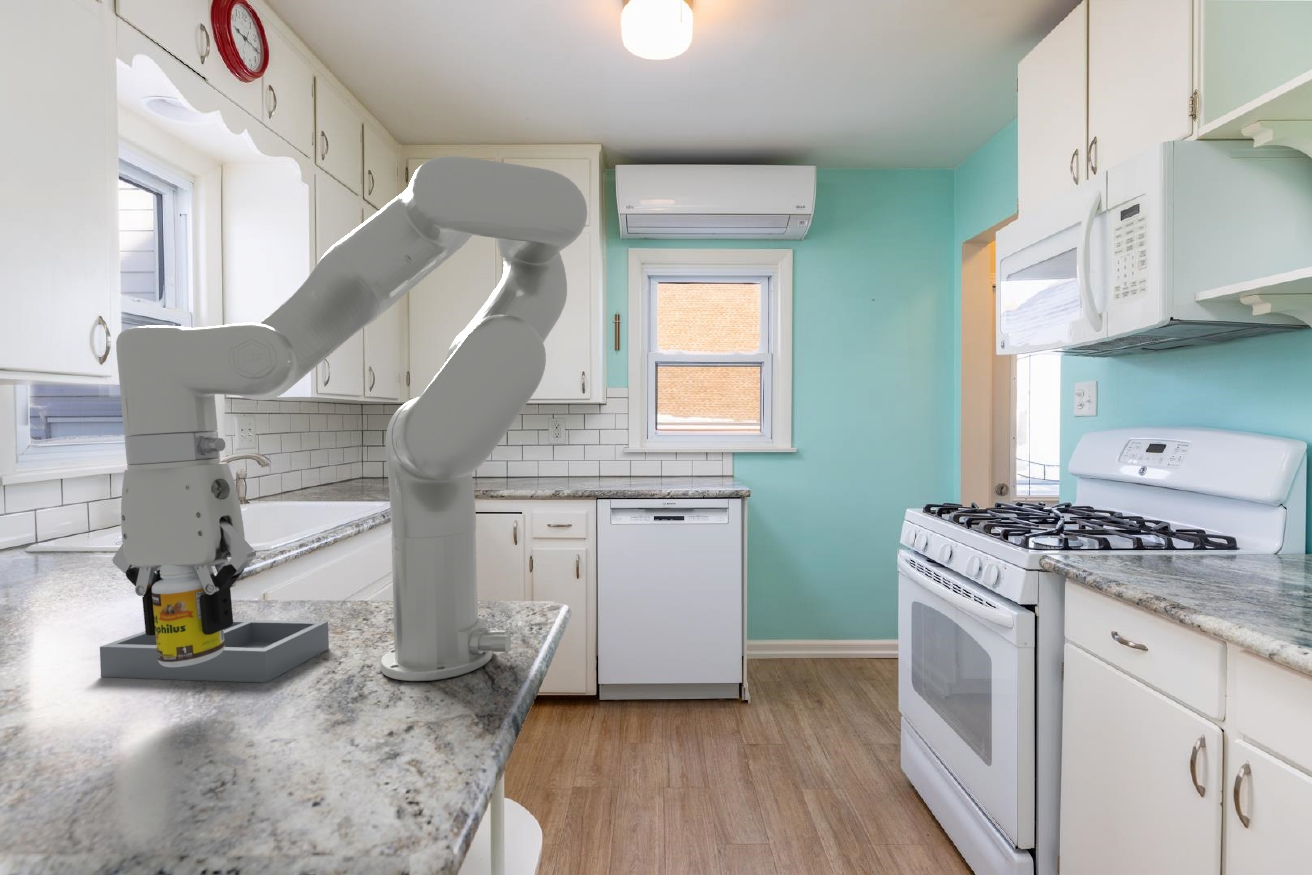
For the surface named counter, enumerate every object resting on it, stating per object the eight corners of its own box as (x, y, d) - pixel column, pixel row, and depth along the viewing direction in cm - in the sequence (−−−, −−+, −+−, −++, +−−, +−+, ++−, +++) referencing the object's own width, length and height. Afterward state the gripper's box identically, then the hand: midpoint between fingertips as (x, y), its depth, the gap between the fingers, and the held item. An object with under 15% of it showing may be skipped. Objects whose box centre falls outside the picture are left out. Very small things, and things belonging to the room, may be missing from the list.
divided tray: (328, 648, 84) (327, 621, 83) (266, 682, 73) (265, 651, 73) (182, 644, 86) (181, 618, 86) (100, 676, 76) (99, 646, 75)
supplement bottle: (144, 667, 64) (134, 565, 64) (198, 647, 70) (190, 552, 69) (185, 671, 63) (176, 565, 62) (238, 650, 68) (230, 552, 68)
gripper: (279, 445, 68) (293, 617, 69) (133, 453, 70) (148, 619, 71) (221, 450, 60) (238, 643, 61) (61, 459, 63) (79, 645, 64)
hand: (190, 628), depth 66 cm, fingers closed on supplement bottle, 5 cm apart
